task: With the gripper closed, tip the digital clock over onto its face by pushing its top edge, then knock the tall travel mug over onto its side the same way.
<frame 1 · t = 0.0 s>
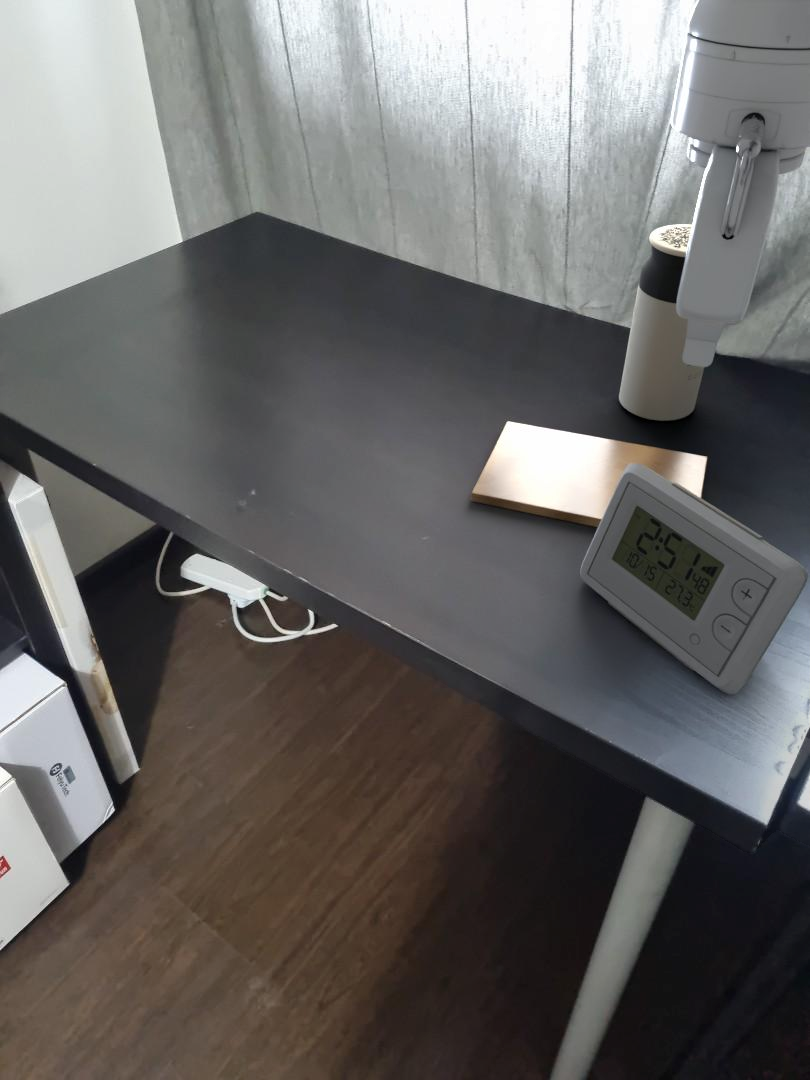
hand: (703, 327, 54), 22 cm above the table, tool pointing down, fingers open, 8 cm apart
wooden board: (591, 482, 79), on the table
digital clock: (666, 625, 65), on the table
travel mug: (655, 405, 90), on the table
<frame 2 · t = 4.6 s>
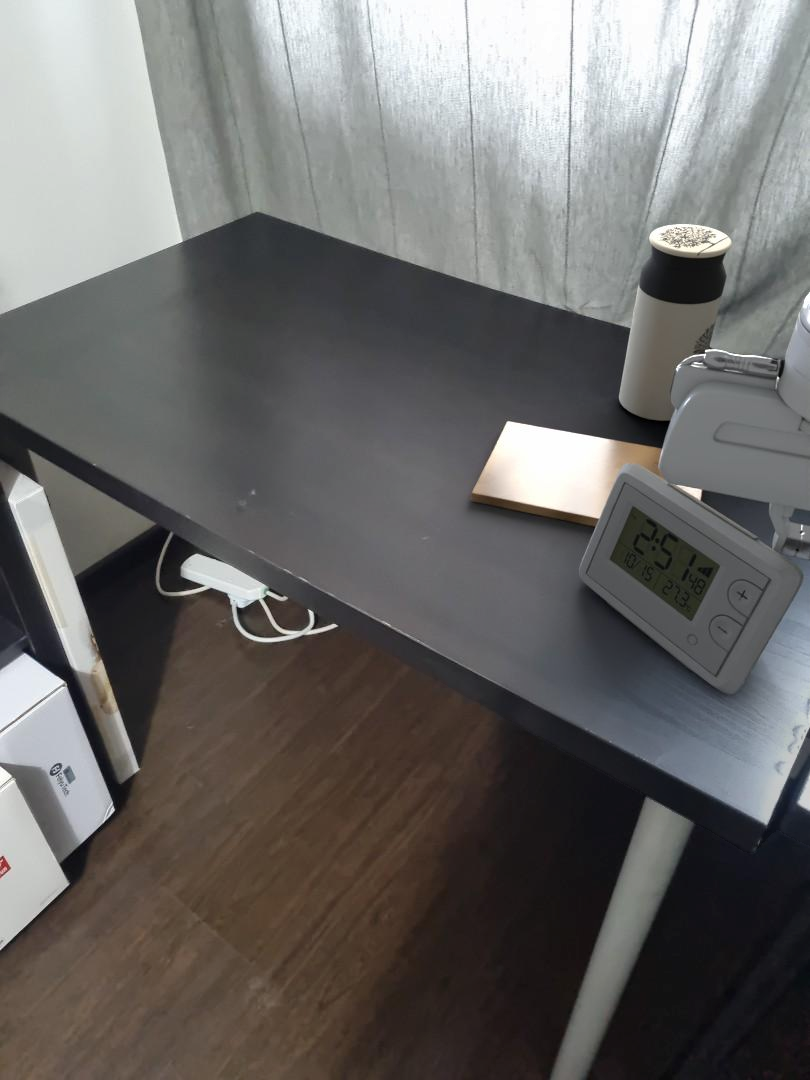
hand: (793, 551, 57), 9 cm above the table, tool pointing down, fingers closed
digital clock: (666, 624, 65), on the table, touching gripper
everything else where it was.
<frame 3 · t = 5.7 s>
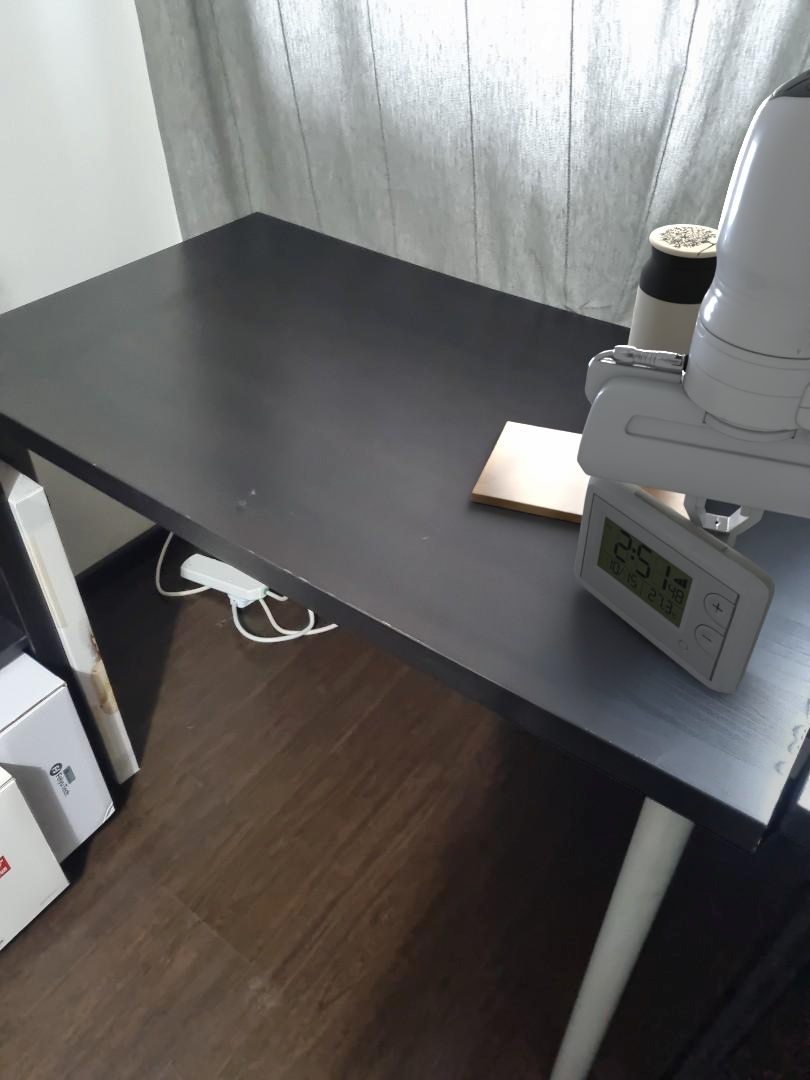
hand: (710, 541, 59), 9 cm above the table, tool pointing down, fingers closed
digital clock: (667, 617, 64), point 1 cm above the table
everything else where it was.
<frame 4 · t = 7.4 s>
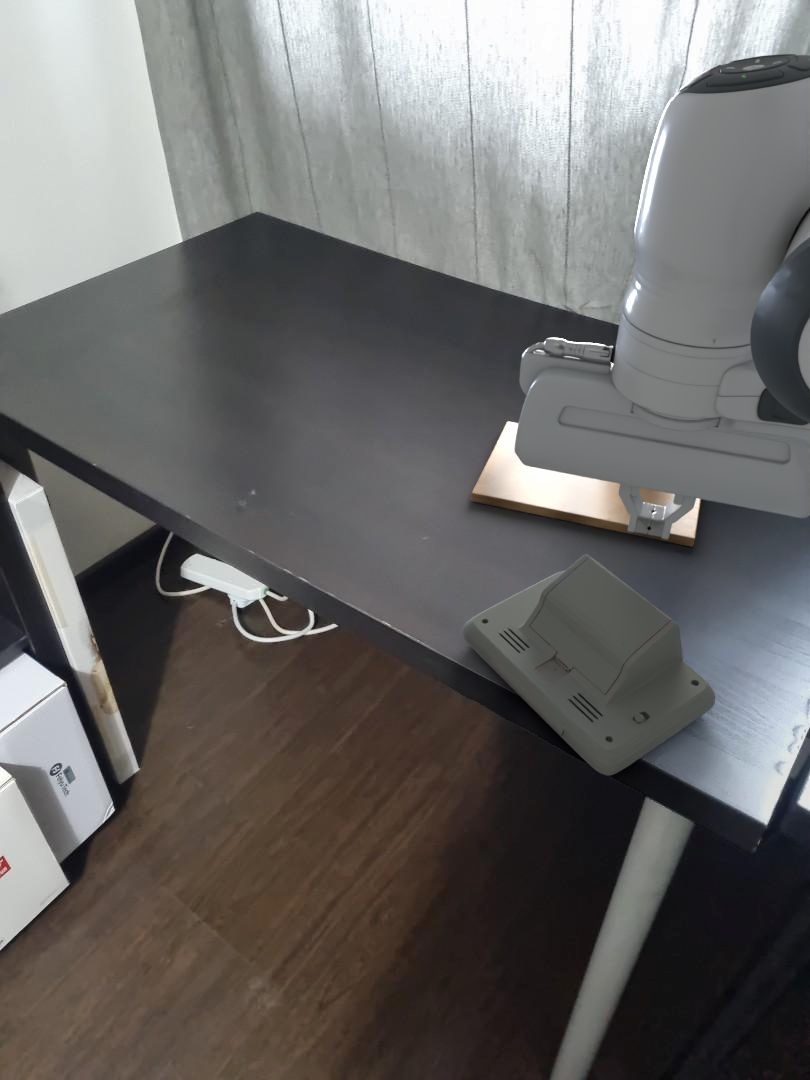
hand: (648, 530, 60), 9 cm above the table, tool pointing down, fingers closed
digital clock: (638, 614, 61), point 3 cm above the table
everything else where it was.
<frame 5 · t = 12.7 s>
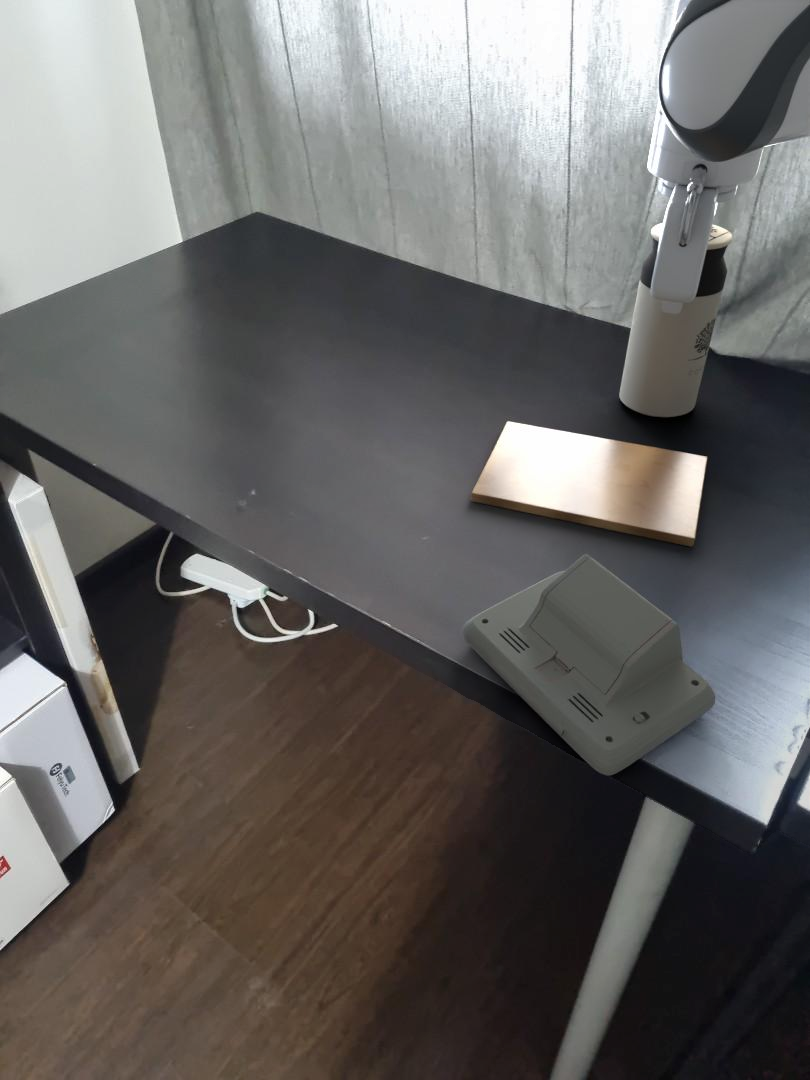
hand: (672, 307, 77), 13 cm above the table, tool pointing down, fingers closed
travel mug: (655, 403, 89), on the table, touching gripper
everything else where it was.
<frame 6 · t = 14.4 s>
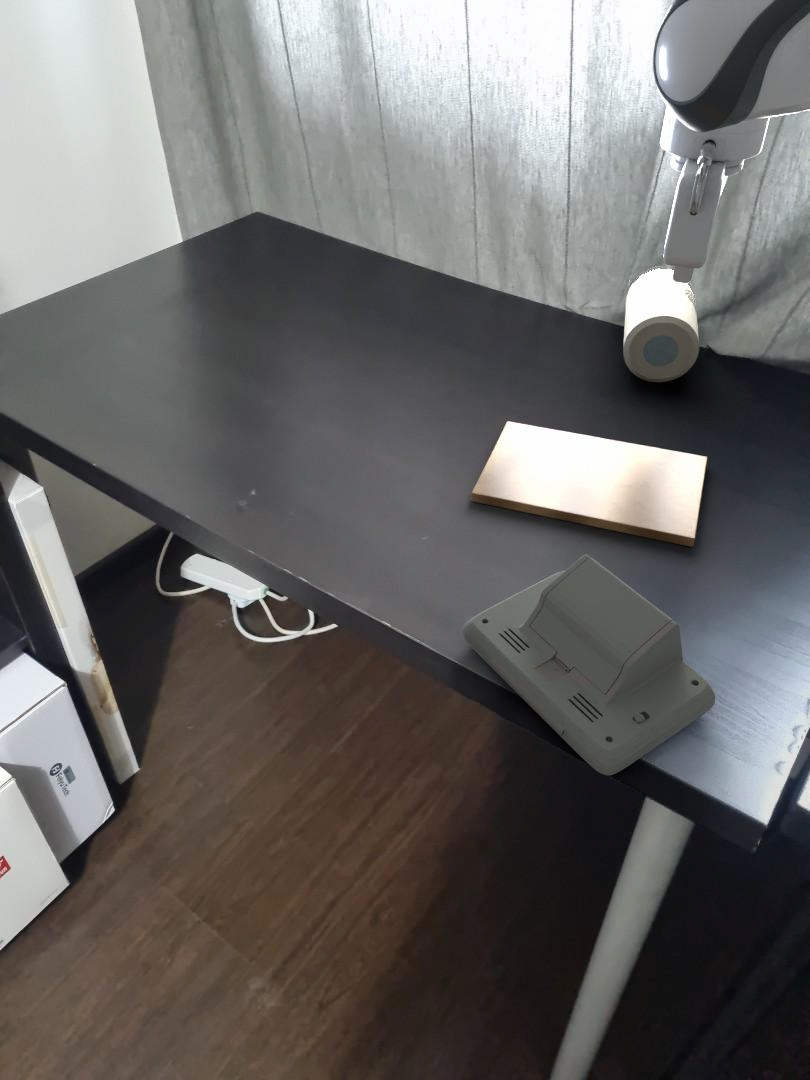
hand: (682, 277, 83), 13 cm above the table, tool pointing down, fingers closed
travel mug: (660, 352, 90), point 4 cm above the table
everything else where it was.
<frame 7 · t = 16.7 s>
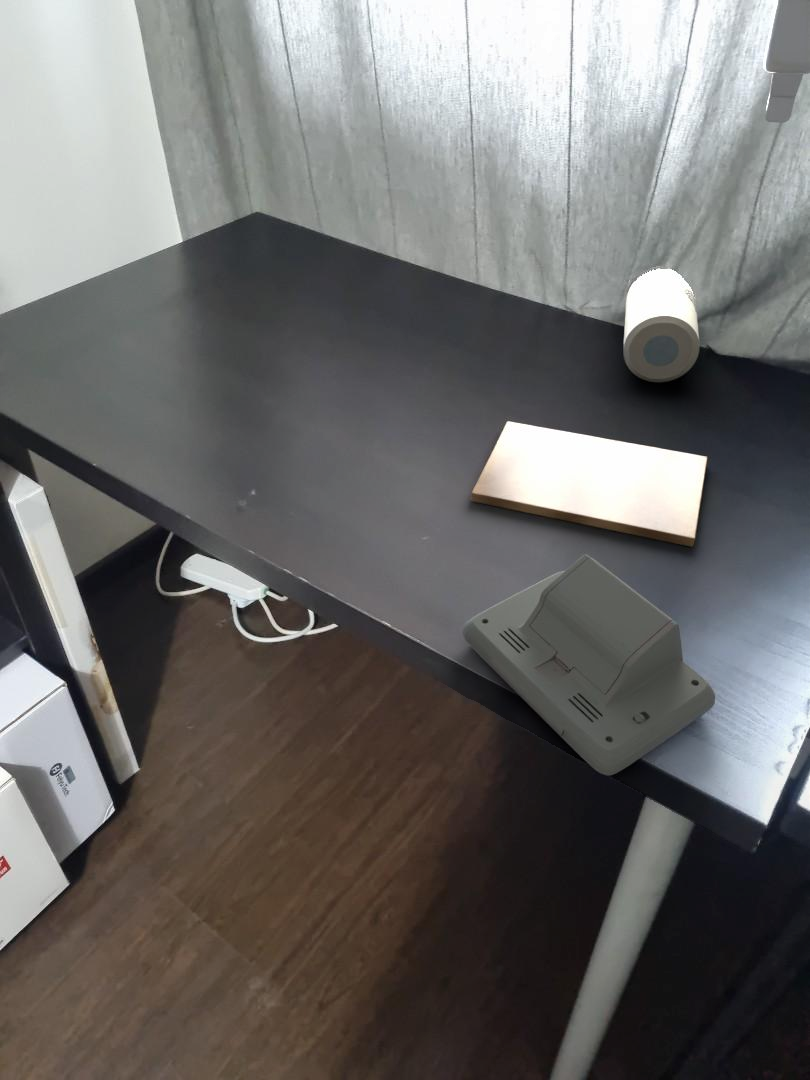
hand: (776, 118, 63), 30 cm above the table, tool pointing down, fingers closed
nothing on the table moved.
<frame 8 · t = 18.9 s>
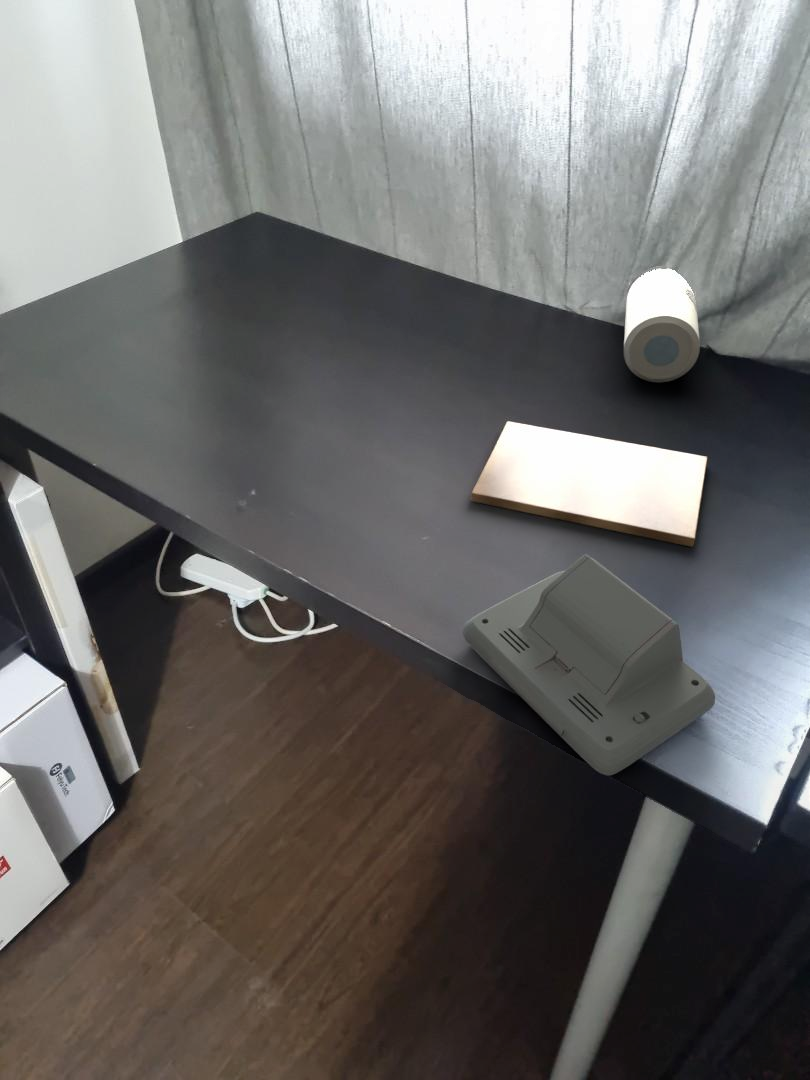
nothing on the table moved.
at the end: digital clock tilted 110°; travel mug tilted 90° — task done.
